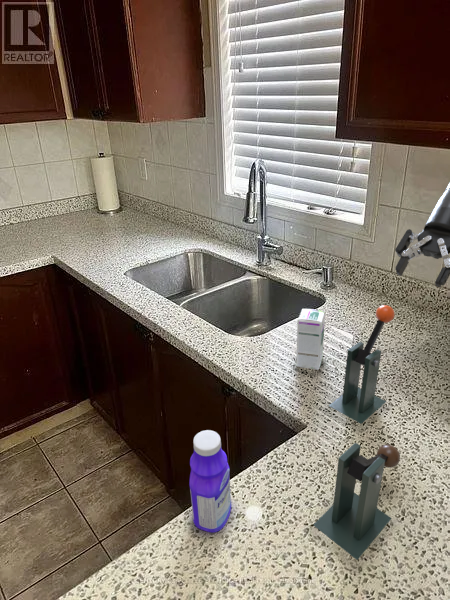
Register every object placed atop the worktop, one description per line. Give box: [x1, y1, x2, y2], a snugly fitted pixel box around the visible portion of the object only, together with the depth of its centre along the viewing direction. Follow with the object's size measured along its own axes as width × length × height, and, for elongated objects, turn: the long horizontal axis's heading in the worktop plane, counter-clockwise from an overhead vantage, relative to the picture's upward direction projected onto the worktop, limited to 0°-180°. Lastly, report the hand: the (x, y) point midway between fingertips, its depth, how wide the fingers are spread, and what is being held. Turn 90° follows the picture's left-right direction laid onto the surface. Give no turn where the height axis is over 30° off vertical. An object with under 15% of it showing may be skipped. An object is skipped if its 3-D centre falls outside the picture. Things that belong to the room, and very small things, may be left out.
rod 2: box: [347, 444, 401, 482], centre depth 69 cm, size 13×4×4 cm, turn 134°
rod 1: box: [354, 304, 395, 367], centre depth 91 cm, size 13×4×4 cm
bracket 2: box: [312, 442, 392, 561], centre depth 68 cm, size 10×8×15 cm
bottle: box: [188, 429, 232, 534], centre depth 70 cm, size 7×6×17 cm
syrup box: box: [295, 308, 326, 371], centre depth 108 cm, size 6×6×14 cm
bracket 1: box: [328, 341, 387, 425], centre depth 93 cm, size 10×8×15 cm
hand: (417, 279), depth 95 cm, fingers open, 8 cm apart
